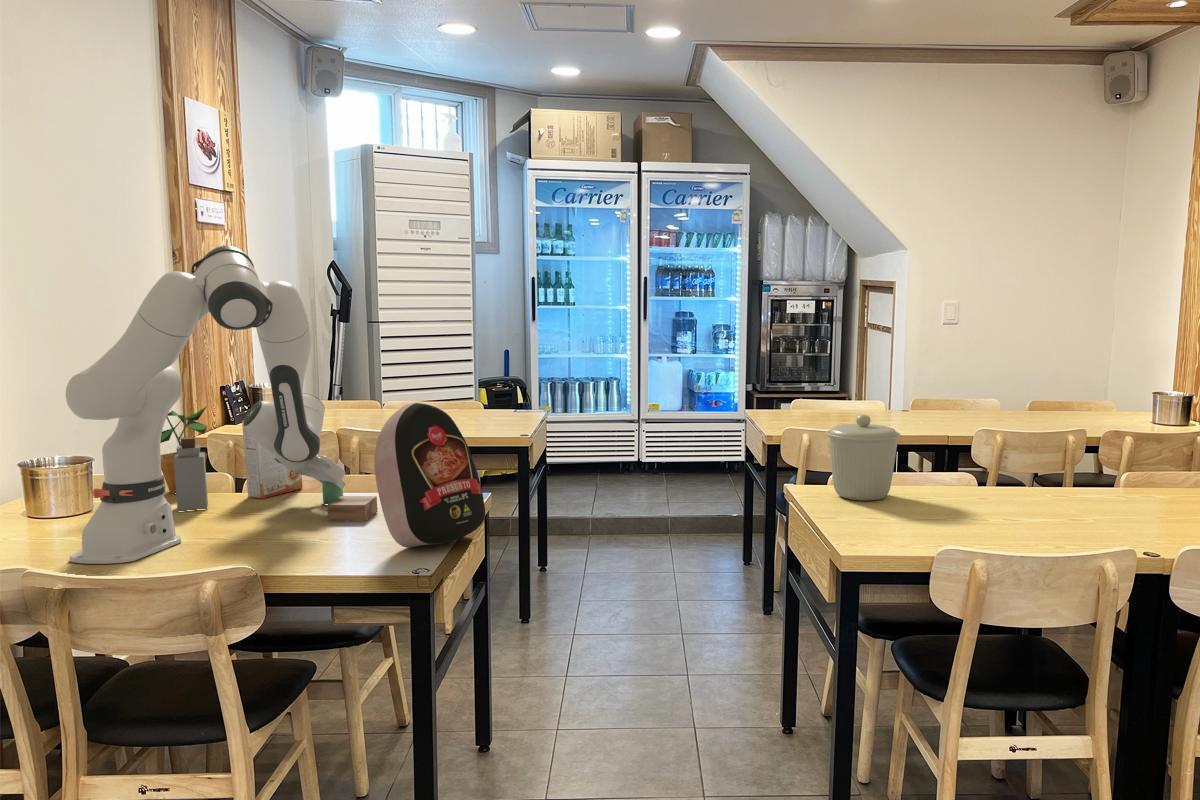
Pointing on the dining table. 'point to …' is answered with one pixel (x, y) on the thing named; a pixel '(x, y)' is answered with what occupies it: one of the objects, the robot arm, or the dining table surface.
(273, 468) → the cracker box
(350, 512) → the walnut block
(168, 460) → the potted plant
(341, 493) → the green bottle
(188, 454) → the perfume bottle
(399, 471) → the packaged food
